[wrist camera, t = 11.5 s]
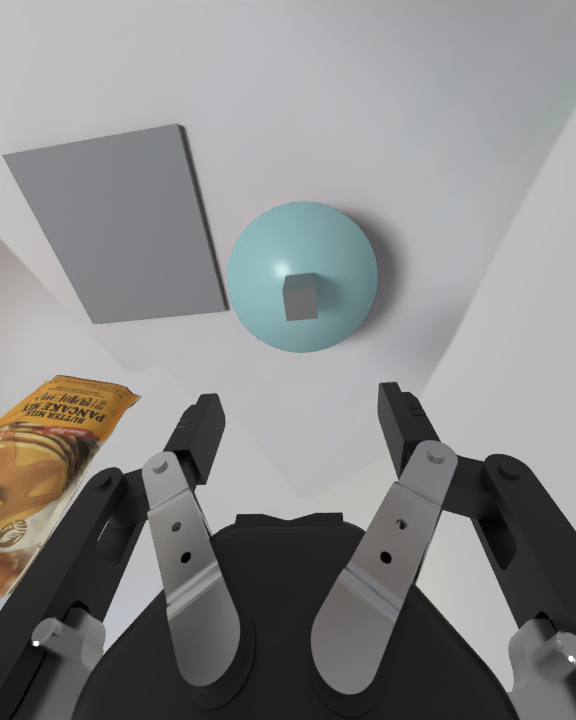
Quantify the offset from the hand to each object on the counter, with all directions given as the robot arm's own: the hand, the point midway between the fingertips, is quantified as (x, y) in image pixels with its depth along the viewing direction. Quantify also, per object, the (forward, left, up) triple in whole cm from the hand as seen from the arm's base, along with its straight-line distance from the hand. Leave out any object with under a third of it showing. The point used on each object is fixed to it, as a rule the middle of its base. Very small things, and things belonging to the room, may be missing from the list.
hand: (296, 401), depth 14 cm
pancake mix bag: (+17, -38, -26) cm, 49 cm away
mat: (-6, -21, -26) cm, 34 cm away
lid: (0, 0, -20) cm, 20 cm away
